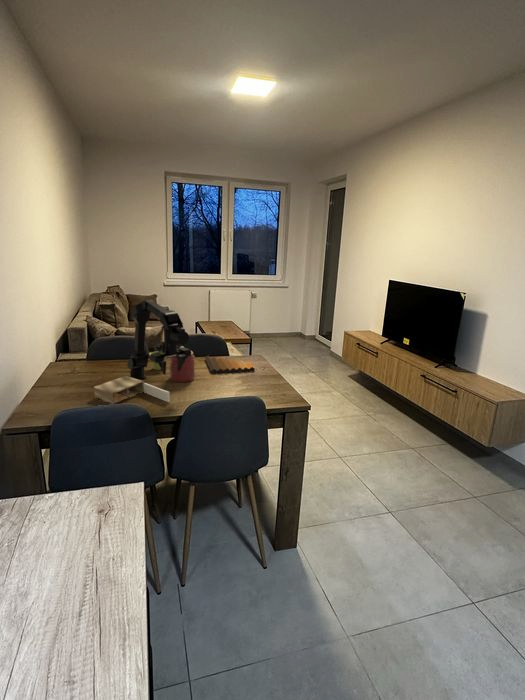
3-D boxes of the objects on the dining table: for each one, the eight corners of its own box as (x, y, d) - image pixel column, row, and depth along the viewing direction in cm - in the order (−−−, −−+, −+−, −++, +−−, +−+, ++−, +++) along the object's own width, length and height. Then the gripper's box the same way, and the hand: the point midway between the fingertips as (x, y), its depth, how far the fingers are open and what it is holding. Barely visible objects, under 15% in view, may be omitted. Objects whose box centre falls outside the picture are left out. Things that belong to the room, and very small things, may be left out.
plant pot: (149, 366, 226) (148, 352, 224) (165, 365, 230) (165, 350, 228) (151, 372, 218) (151, 356, 216) (169, 370, 222) (168, 355, 220)
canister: (164, 379, 208) (163, 347, 203) (180, 372, 219) (180, 341, 214) (184, 384, 202) (184, 351, 197) (200, 377, 213) (199, 345, 208)
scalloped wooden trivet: (204, 360, 242) (211, 374, 219) (204, 355, 241) (211, 368, 218) (244, 359, 249) (254, 372, 226) (244, 353, 248) (255, 366, 225)
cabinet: (126, 386, 197) (125, 375, 195) (143, 392, 191) (143, 381, 189) (95, 398, 182) (94, 386, 180) (112, 404, 176) (111, 392, 174)
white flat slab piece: (142, 392, 190) (142, 382, 188) (144, 392, 191) (144, 381, 189) (168, 402, 180) (167, 391, 179) (169, 402, 181) (169, 391, 179)
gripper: (178, 333, 191) (178, 364, 195) (142, 339, 178) (144, 372, 182) (191, 338, 183) (192, 370, 187) (155, 344, 170) (157, 379, 175)
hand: (171, 372), depth 183 cm, fingers open, 7 cm apart
